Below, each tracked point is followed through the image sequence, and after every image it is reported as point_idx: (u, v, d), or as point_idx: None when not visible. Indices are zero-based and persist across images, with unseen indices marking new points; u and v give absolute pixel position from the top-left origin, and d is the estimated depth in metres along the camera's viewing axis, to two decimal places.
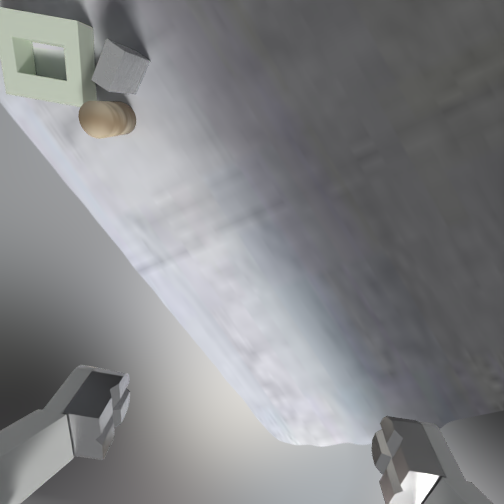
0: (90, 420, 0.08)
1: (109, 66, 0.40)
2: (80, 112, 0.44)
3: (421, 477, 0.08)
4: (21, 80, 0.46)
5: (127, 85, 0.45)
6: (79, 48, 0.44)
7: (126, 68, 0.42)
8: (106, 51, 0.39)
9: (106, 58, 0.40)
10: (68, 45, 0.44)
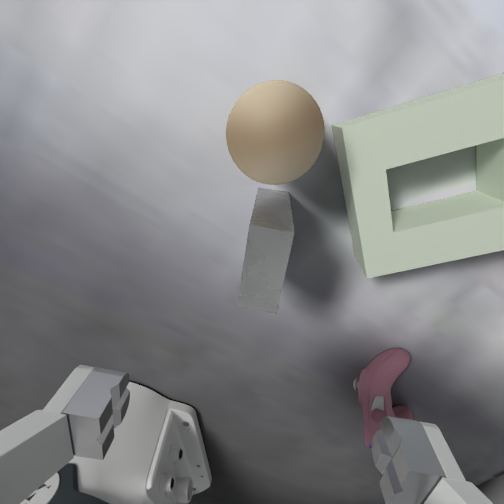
0: (90, 420, 0.08)
1: (258, 273, 0.18)
2: (319, 136, 0.16)
3: (421, 477, 0.08)
4: None
5: None
6: (360, 239, 0.22)
7: None
8: (272, 294, 0.19)
9: (269, 283, 0.18)
10: (384, 236, 0.22)
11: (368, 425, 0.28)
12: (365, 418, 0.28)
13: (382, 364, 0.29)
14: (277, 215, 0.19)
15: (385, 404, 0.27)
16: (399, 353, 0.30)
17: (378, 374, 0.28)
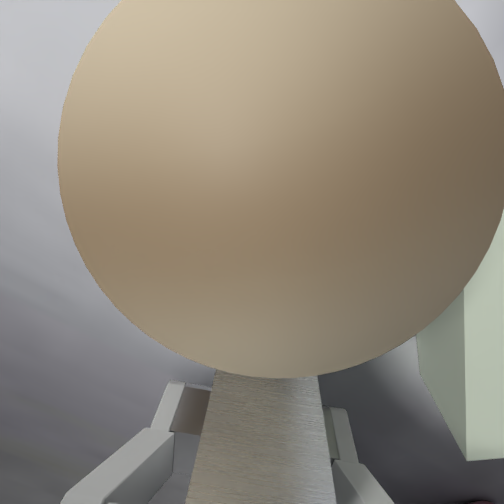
0: (197, 438, 0.08)
1: None
2: (477, 225, 0.03)
3: None
4: None
5: None
6: (465, 396, 0.10)
7: None
8: None
9: None
10: None
11: None
12: None
13: None
14: (281, 398, 0.07)
15: None
16: None
17: None
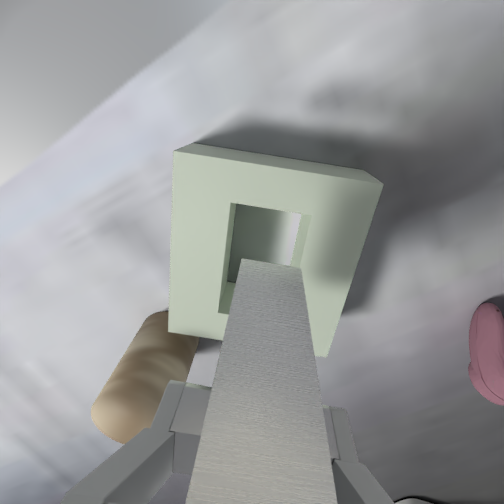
0: (197, 438, 0.08)
1: None
2: (140, 398, 0.18)
3: None
4: (212, 209, 0.17)
5: None
6: None
7: None
8: None
9: None
10: None
11: None
12: None
13: (477, 347, 0.22)
14: (281, 398, 0.07)
15: None
16: (482, 316, 0.22)
17: (482, 365, 0.21)
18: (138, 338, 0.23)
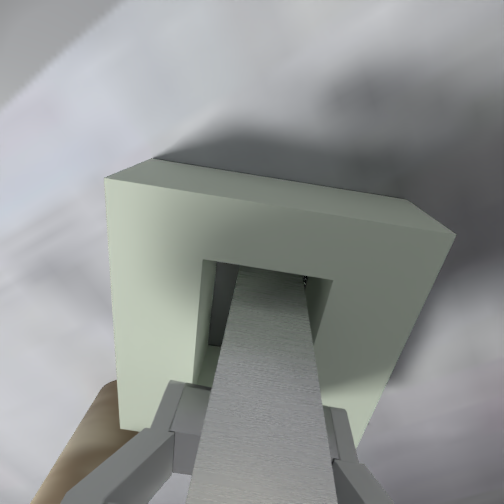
0: (197, 438, 0.08)
1: None
2: None
3: None
4: (174, 268, 0.11)
5: None
6: None
7: None
8: None
9: None
10: None
11: None
12: None
13: None
14: (281, 397, 0.07)
15: None
16: None
17: None
18: (83, 427, 0.16)
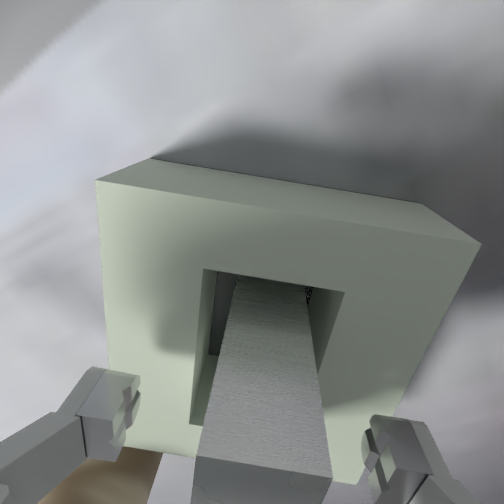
0: (104, 423, 0.08)
1: None
2: None
3: (408, 475, 0.08)
4: (171, 277, 0.10)
5: None
6: None
7: None
8: None
9: None
10: None
11: None
12: None
13: None
14: (281, 364, 0.08)
15: None
16: None
17: None
18: None
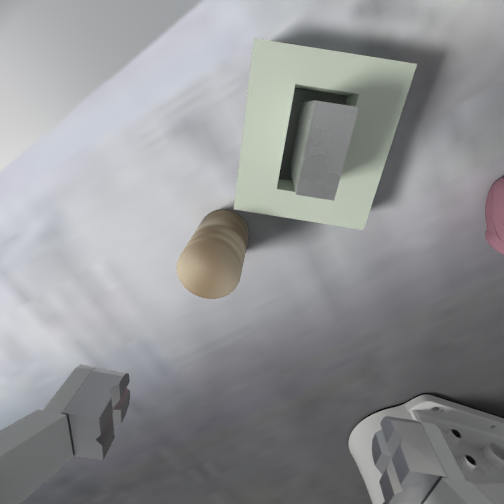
0: (90, 420, 0.08)
1: (320, 155, 0.19)
2: (219, 247, 0.23)
3: (421, 477, 0.08)
4: (280, 90, 0.22)
5: (303, 121, 0.22)
6: (325, 223, 0.26)
7: (299, 156, 0.21)
8: (331, 179, 0.19)
9: (329, 166, 0.19)
10: (331, 205, 0.25)
11: None
12: None
13: (493, 212, 0.26)
14: None
15: None
16: (497, 187, 0.26)
17: (498, 224, 0.25)
18: (204, 222, 0.27)
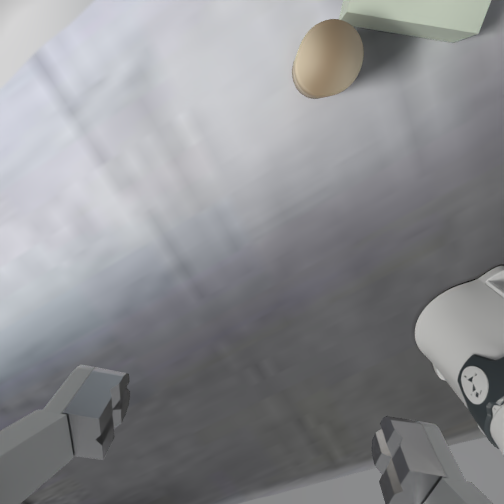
0: (90, 420, 0.08)
1: None
2: (346, 26, 0.23)
3: (421, 477, 0.08)
4: None
5: None
6: (439, 27, 0.25)
7: None
8: None
9: None
10: (449, 3, 0.25)
11: None
12: None
13: None
14: None
15: None
16: None
17: None
18: None
